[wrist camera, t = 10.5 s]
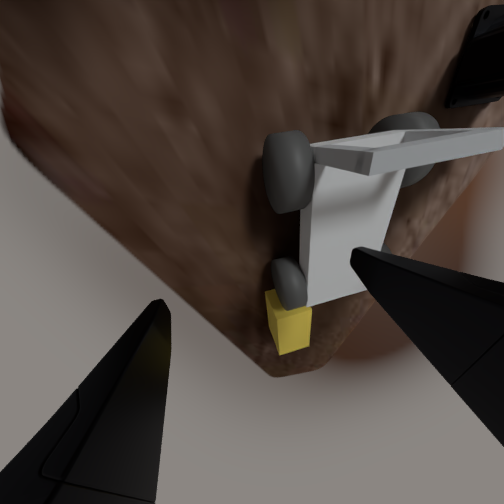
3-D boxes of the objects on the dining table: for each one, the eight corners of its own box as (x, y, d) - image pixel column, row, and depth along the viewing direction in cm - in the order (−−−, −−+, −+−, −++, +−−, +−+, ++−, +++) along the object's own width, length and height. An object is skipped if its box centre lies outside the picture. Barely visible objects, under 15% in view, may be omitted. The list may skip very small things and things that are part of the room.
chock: (294, 282, 27) (312, 309, 23) (294, 318, 31) (309, 346, 27) (264, 290, 26) (276, 319, 22) (268, 325, 31) (279, 355, 27)
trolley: (259, 134, 16) (331, 133, 8) (385, 115, 18) (561, 96, 9) (272, 286, 26) (309, 362, 17) (352, 265, 28) (422, 324, 19)
